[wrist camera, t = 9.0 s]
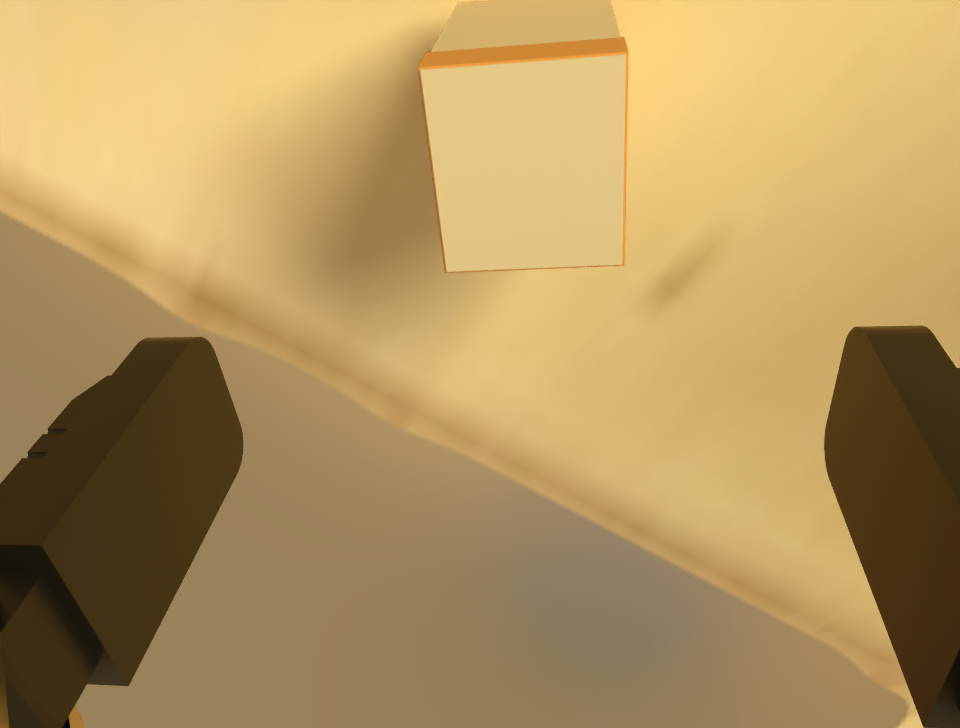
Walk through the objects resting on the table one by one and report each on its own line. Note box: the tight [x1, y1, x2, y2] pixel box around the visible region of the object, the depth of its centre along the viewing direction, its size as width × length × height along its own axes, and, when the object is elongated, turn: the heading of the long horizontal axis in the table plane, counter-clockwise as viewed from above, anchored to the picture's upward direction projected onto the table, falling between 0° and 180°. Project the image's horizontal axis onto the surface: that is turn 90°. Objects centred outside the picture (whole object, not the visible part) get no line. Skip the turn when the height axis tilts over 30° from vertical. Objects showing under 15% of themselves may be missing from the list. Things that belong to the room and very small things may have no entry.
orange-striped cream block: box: [418, 0, 628, 273], centre depth 19 cm, size 4×5×7 cm
